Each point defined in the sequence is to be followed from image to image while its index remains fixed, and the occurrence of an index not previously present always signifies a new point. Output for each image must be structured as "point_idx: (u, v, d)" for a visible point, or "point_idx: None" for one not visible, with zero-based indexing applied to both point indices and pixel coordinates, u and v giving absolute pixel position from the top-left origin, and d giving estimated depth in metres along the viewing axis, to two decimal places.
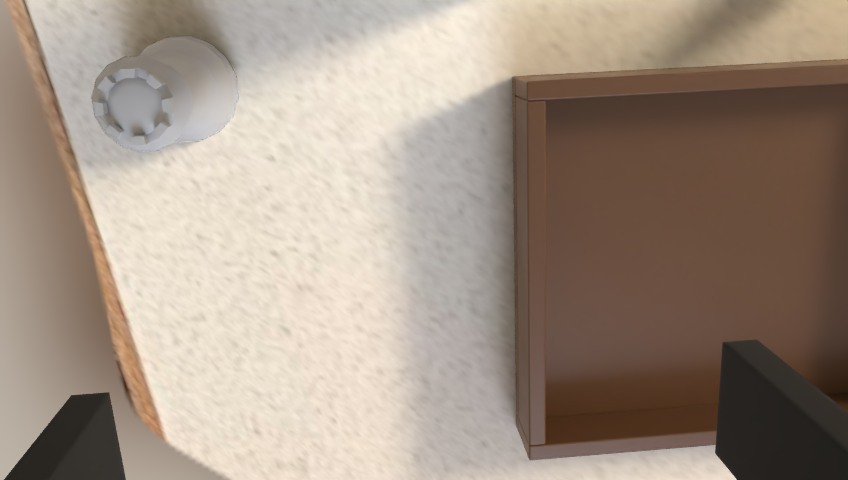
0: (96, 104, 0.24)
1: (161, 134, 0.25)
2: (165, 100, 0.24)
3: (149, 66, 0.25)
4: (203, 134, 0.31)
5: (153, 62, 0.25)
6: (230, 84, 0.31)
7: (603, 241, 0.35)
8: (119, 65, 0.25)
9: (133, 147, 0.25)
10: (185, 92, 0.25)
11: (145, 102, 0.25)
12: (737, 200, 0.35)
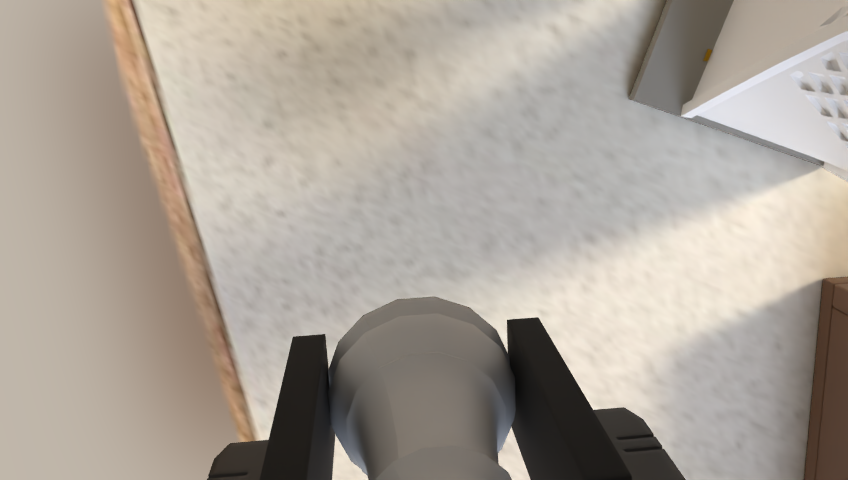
0: None
1: None
2: None
3: None
4: None
5: None
6: None
7: None
8: None
9: None
10: None
11: None
12: None
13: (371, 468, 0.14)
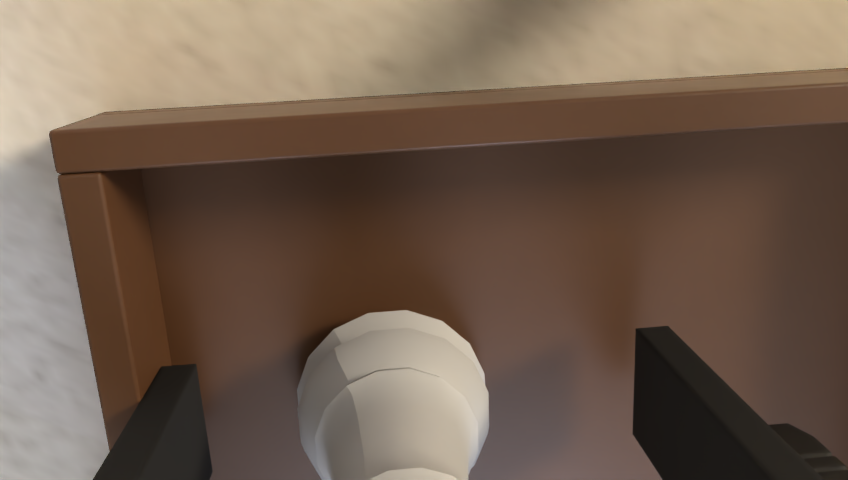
0: None
1: None
2: None
3: None
4: None
5: None
6: None
7: None
8: None
9: None
10: None
11: None
12: (582, 345, 0.18)
13: None
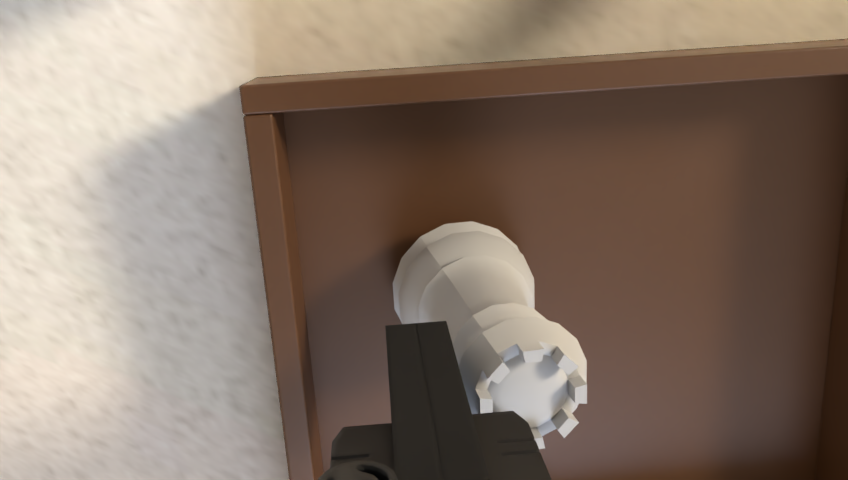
0: (483, 401, 0.16)
1: (566, 431, 0.17)
2: (579, 387, 0.17)
3: (547, 334, 0.17)
4: None
5: (549, 326, 0.17)
6: None
7: None
8: (506, 336, 0.17)
9: None
10: (581, 358, 0.18)
11: (544, 388, 0.17)
12: (598, 249, 0.24)
13: None
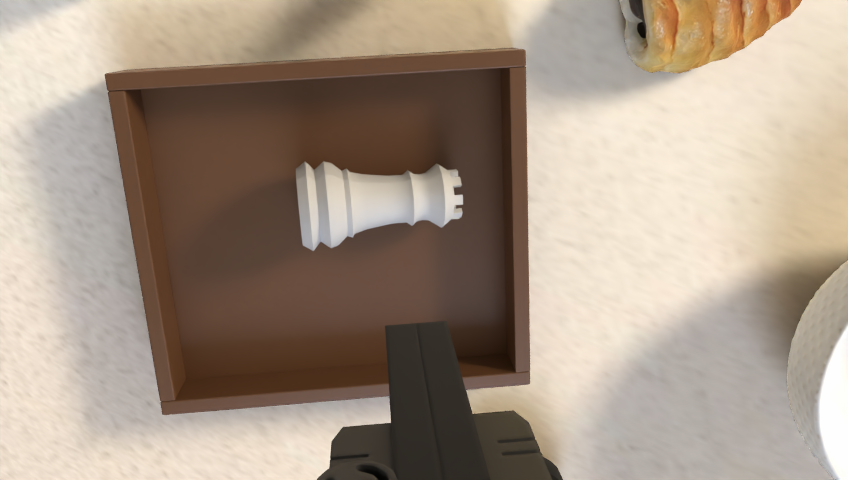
0: (462, 196, 0.37)
1: (453, 208, 0.39)
2: None
3: None
4: None
5: None
6: None
7: (226, 217, 0.39)
8: (445, 170, 0.37)
9: None
10: None
11: None
12: None
13: (388, 199, 0.36)
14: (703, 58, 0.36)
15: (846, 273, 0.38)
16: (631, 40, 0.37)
